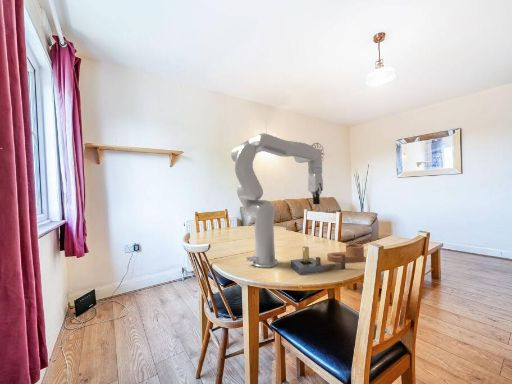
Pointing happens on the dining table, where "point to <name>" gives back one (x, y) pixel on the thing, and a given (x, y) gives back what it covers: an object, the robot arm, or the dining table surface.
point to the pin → (305, 255)
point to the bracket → (348, 254)
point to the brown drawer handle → (332, 266)
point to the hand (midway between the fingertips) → (316, 204)
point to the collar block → (306, 266)
